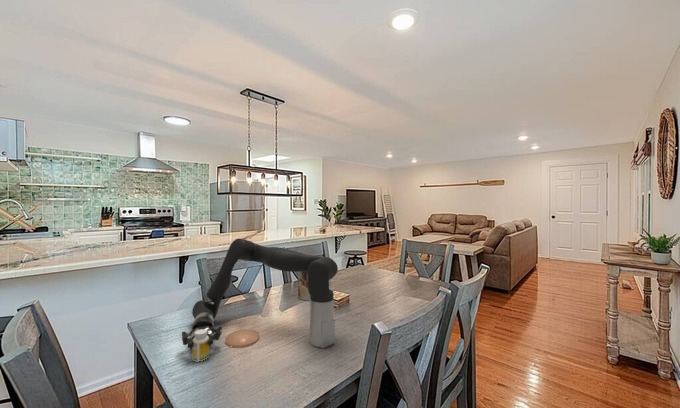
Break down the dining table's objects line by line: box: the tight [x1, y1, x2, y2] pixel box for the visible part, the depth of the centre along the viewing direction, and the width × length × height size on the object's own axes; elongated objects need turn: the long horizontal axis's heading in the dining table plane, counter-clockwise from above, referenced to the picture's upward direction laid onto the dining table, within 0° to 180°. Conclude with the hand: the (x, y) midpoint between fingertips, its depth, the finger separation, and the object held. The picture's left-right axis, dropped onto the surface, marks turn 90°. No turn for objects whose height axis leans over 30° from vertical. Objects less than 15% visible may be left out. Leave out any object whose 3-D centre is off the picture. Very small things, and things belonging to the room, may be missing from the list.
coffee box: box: [297, 272, 310, 302], centre depth 169 cm, size 9×6×16 cm
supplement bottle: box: [191, 329, 210, 363], centre depth 106 cm, size 5×5×10 cm
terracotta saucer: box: [224, 328, 260, 348], centre depth 120 cm, size 13×13×1 cm
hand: (200, 344), depth 104 cm, fingers closed on supplement bottle, 5 cm apart
